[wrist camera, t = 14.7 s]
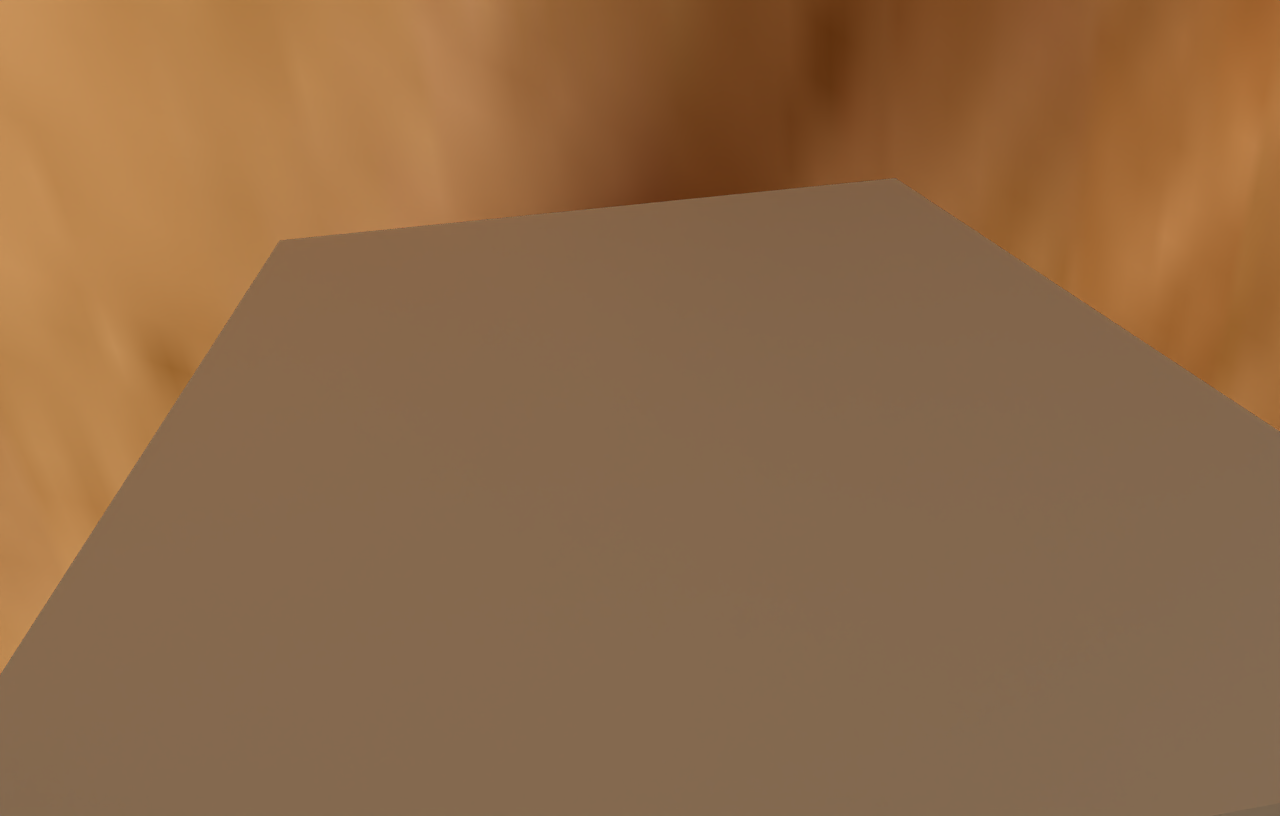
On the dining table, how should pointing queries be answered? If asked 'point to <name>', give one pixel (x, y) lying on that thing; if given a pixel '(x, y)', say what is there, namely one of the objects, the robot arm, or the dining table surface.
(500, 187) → the dining table surface
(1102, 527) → the matte cream cube
